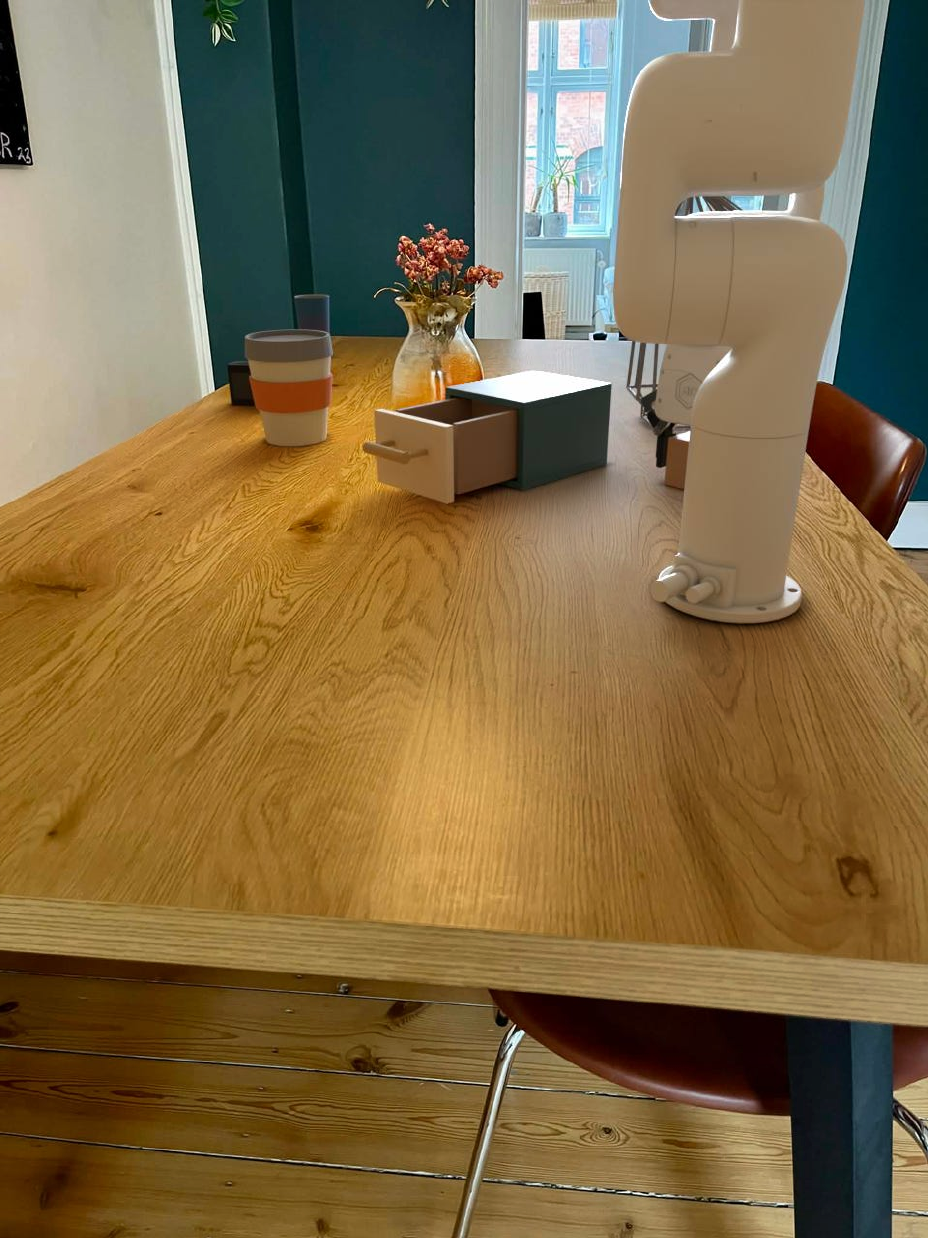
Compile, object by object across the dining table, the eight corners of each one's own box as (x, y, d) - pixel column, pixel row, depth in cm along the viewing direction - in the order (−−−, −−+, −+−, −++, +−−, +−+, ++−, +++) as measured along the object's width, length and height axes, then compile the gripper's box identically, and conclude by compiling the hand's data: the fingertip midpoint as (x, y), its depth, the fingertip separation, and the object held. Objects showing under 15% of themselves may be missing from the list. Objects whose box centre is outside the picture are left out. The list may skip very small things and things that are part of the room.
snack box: (721, 482, 115) (726, 434, 113) (694, 492, 112) (699, 443, 109) (690, 475, 118) (695, 429, 116) (664, 484, 115) (668, 437, 112)
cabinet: (522, 490, 113) (524, 402, 108) (446, 469, 122) (444, 386, 117) (607, 464, 123) (611, 383, 119) (531, 446, 132) (533, 370, 128)
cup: (296, 372, 187) (290, 295, 181) (328, 369, 190) (323, 293, 184) (305, 378, 182) (299, 298, 175) (338, 375, 184) (333, 296, 178)
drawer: (419, 512, 102) (417, 433, 99) (350, 488, 111) (345, 415, 107) (537, 476, 115) (539, 405, 111) (467, 458, 123) (467, 391, 119)
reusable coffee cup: (354, 433, 140) (348, 331, 133) (308, 453, 130) (299, 343, 123) (285, 425, 145) (276, 327, 138) (236, 444, 134) (224, 338, 128)
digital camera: (227, 406, 158) (223, 365, 155) (240, 400, 163) (235, 359, 160) (284, 408, 156) (281, 366, 153) (295, 401, 161) (292, 361, 158)
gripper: (629, 323, 110) (619, 464, 118) (759, 338, 99) (739, 493, 106) (665, 317, 115) (653, 454, 122) (793, 330, 104) (772, 480, 111)
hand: (694, 471), depth 114 cm, fingers open, 8 cm apart
